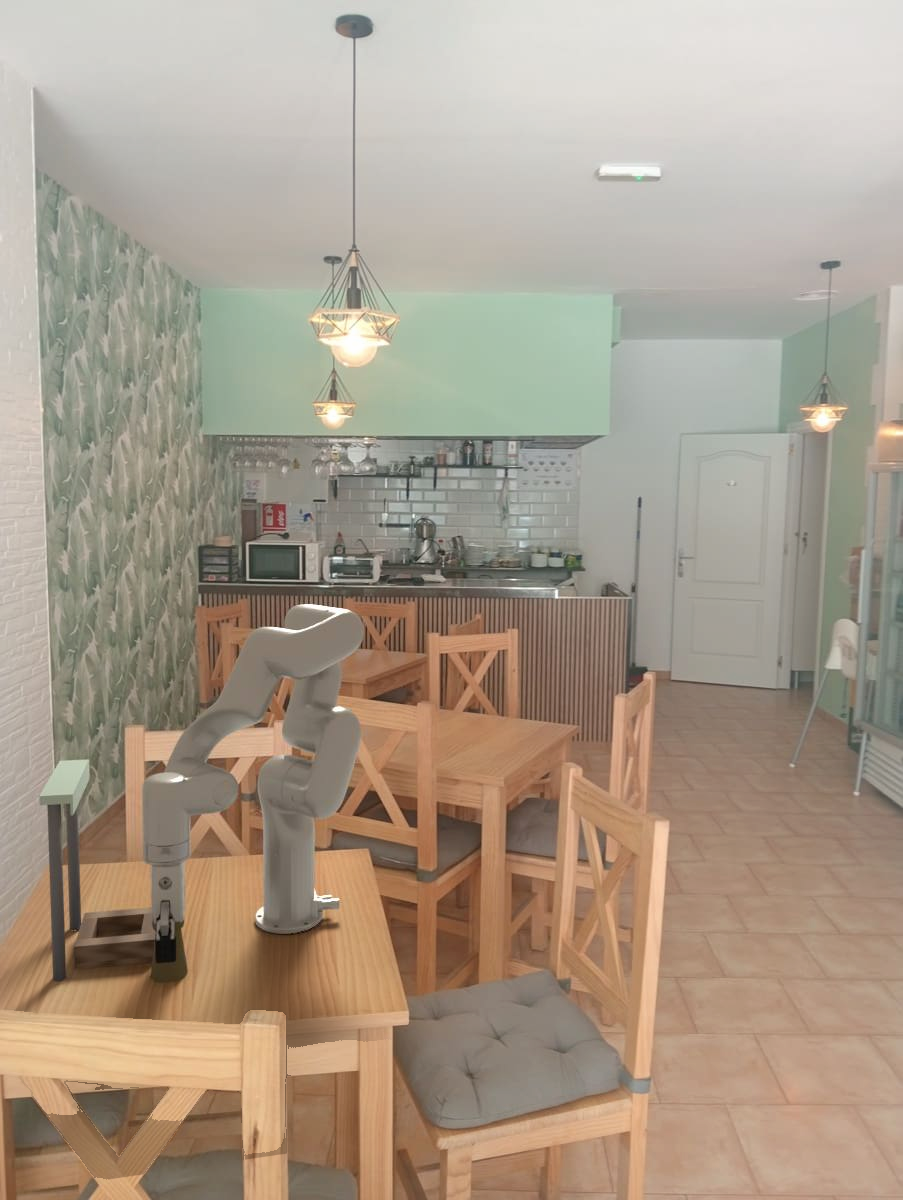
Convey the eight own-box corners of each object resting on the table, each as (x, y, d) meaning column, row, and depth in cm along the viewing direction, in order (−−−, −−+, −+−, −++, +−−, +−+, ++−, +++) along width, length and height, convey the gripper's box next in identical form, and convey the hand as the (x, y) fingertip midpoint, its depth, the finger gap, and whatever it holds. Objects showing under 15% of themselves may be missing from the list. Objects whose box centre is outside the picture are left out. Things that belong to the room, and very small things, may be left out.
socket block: (159, 927, 175) (159, 906, 175) (155, 961, 163) (154, 939, 162) (85, 933, 172) (84, 912, 172) (74, 969, 160) (74, 946, 159)
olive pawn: (177, 984, 156) (176, 920, 154) (143, 980, 157) (142, 916, 155) (194, 966, 161) (193, 905, 160) (161, 962, 163) (160, 901, 161)
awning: (93, 924, 176) (89, 759, 172) (78, 979, 157) (72, 794, 153) (64, 927, 175) (59, 760, 171) (45, 982, 155) (39, 796, 152)
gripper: (188, 867, 149) (189, 971, 151) (191, 829, 166) (192, 923, 168) (138, 870, 147) (139, 975, 149) (146, 831, 164) (147, 926, 166)
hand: (167, 947), depth 158 cm, fingers open, 9 cm apart
